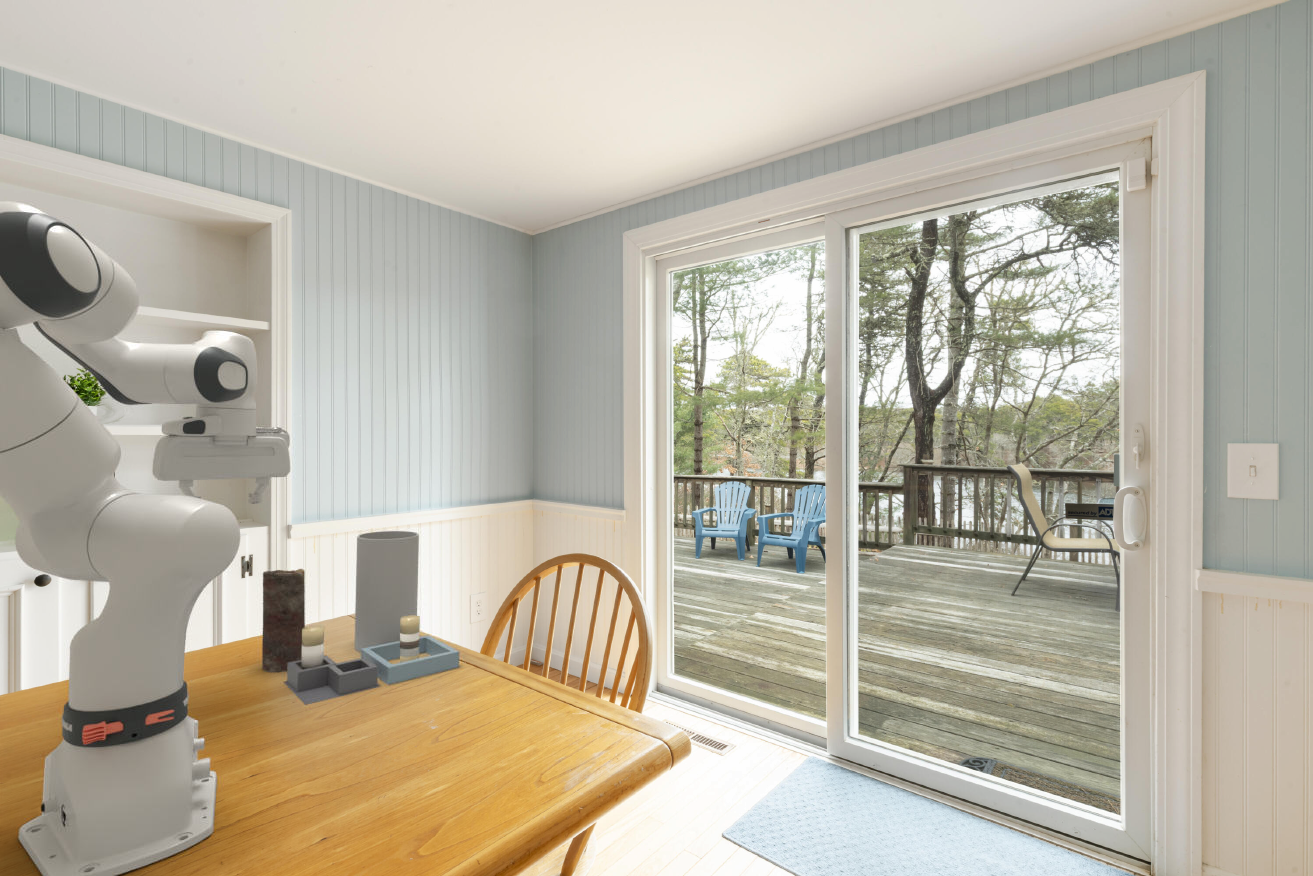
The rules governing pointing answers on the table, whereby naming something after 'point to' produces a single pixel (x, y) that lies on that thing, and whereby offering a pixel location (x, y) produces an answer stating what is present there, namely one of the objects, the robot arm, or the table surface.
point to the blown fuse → (409, 638)
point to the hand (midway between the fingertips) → (225, 505)
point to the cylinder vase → (384, 585)
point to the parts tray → (390, 674)
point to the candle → (282, 618)
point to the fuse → (312, 647)
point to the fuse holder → (331, 679)
